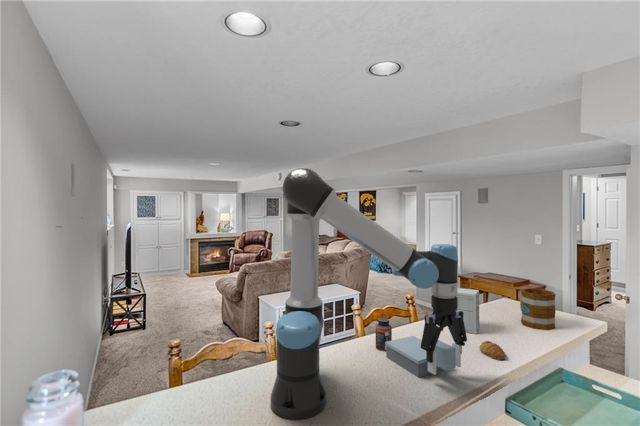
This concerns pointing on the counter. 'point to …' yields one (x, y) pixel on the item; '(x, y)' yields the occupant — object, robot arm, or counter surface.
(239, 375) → the counter surface
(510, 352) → the counter surface
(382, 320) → the supplement bottle
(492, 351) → the pastry
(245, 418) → the counter surface
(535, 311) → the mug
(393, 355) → the tub
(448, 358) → the lid
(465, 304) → the supplement box
